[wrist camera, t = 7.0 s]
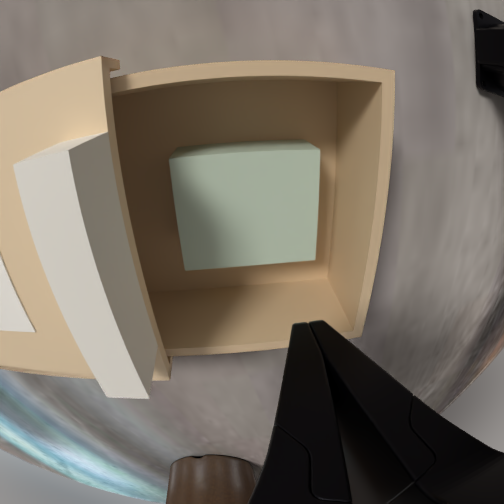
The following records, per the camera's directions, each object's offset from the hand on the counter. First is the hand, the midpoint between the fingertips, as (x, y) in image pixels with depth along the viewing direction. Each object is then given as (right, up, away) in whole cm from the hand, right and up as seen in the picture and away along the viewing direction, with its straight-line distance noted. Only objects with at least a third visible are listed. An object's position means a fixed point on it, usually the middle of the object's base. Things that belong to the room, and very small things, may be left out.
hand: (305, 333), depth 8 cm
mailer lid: (-14, +2, +5) cm, 15 cm away
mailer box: (-4, +6, +10) cm, 12 cm away
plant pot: (-7, -29, +30) cm, 42 cm away
